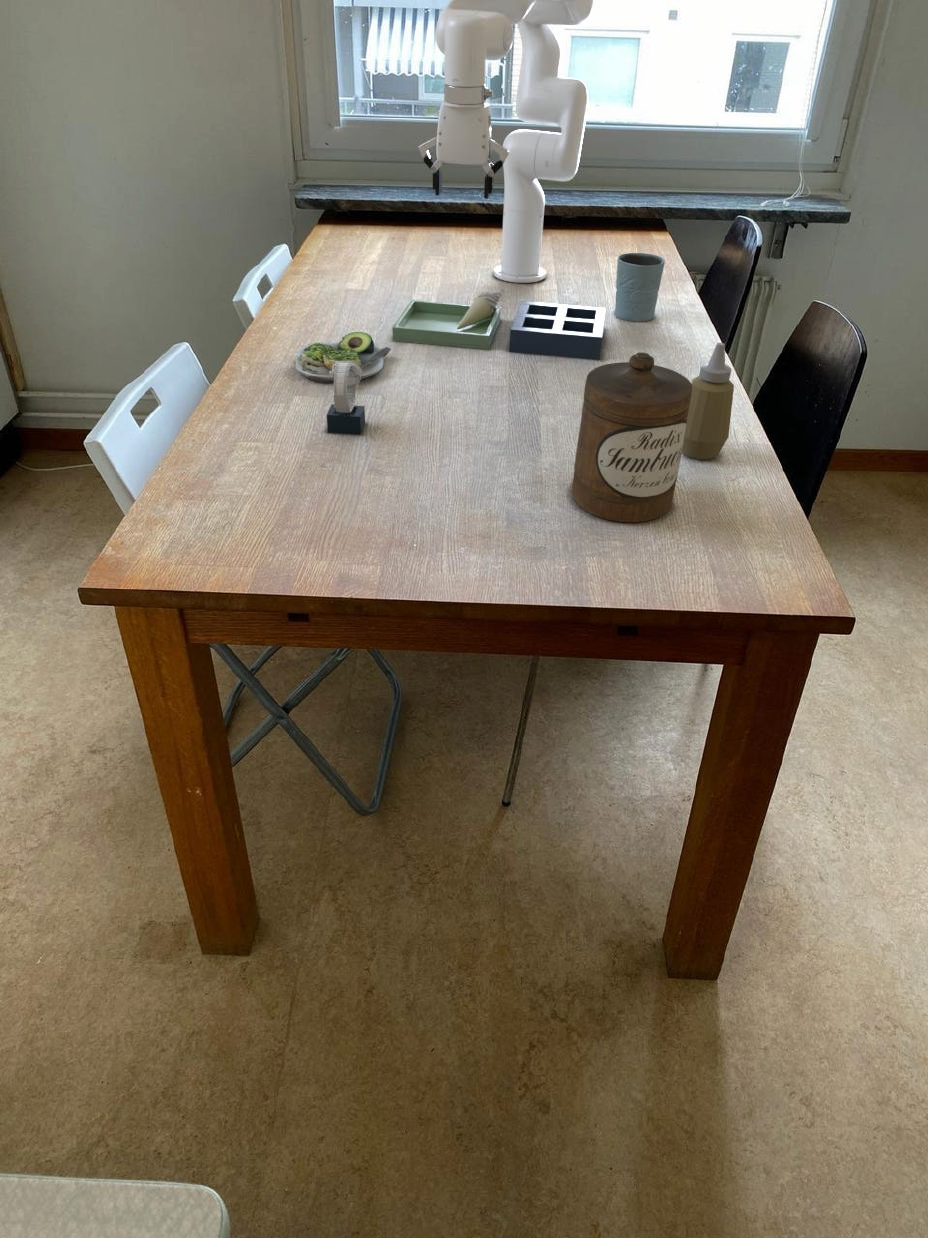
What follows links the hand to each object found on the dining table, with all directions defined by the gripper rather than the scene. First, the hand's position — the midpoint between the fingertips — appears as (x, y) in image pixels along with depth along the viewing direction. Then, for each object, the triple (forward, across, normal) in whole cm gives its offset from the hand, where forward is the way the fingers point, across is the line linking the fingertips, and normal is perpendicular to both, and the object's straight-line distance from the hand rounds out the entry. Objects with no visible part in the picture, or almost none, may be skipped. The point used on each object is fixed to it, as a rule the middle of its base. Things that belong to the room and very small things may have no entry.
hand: (462, 195), depth 179 cm
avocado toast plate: (+25, +18, +29) cm, 42 cm away
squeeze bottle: (+25, -48, +50) cm, 74 cm away
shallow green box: (+25, +2, +5) cm, 26 cm away
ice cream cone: (+24, 0, +6) cm, 25 cm away
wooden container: (+24, -36, +68) cm, 81 cm away
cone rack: (+25, -21, +4) cm, 33 cm away
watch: (+24, +10, +55) cm, 61 cm away
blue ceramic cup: (+26, -36, -16) cm, 47 cm away
